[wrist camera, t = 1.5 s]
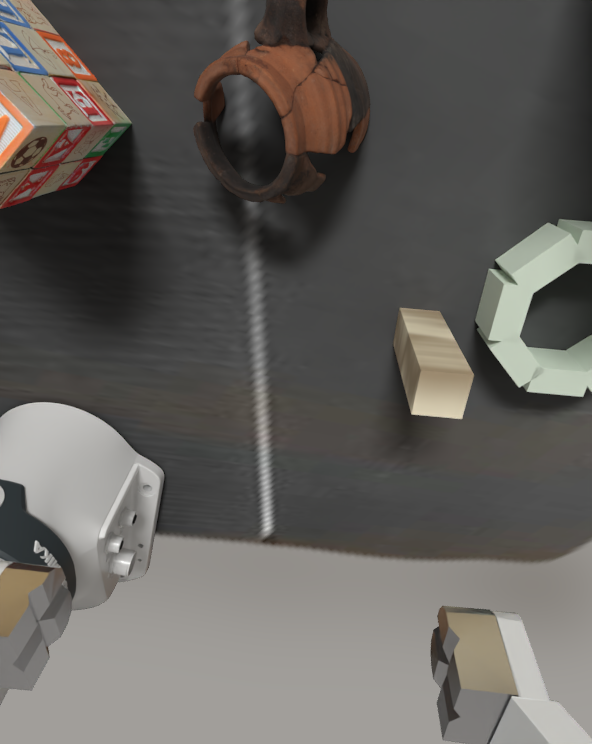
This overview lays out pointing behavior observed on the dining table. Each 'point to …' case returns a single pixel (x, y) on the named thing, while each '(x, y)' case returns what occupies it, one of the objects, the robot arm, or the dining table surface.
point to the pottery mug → (289, 96)
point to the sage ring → (511, 302)
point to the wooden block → (431, 364)
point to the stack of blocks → (47, 109)
